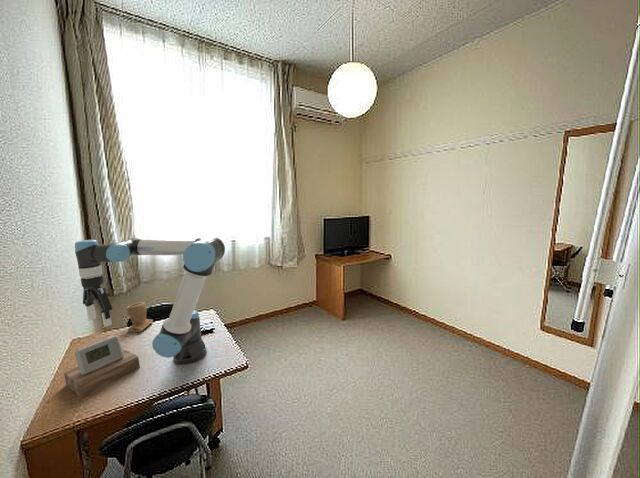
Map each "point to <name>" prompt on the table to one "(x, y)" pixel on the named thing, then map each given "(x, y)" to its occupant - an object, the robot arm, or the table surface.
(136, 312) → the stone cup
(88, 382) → the walnut block
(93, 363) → the digital clock
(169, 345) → the robot arm
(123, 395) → the table surface
